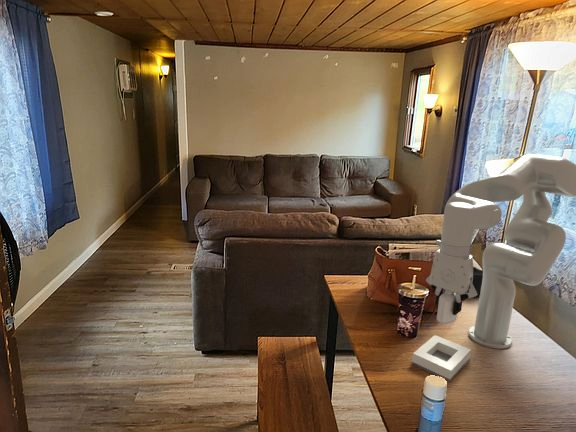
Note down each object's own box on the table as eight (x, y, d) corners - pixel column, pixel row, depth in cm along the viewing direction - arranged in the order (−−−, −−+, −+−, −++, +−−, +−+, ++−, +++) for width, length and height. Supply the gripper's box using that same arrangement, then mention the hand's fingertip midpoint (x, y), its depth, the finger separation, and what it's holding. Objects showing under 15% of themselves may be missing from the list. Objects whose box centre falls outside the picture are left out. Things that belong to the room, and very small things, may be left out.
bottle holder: (433, 345, 129) (434, 334, 128) (469, 360, 122) (471, 349, 121) (411, 364, 119) (413, 353, 118) (449, 381, 112) (451, 370, 111)
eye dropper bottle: (458, 324, 115) (464, 285, 111) (438, 324, 115) (442, 284, 112) (454, 316, 119) (459, 278, 116) (433, 316, 119) (438, 277, 116)
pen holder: (478, 289, 169) (481, 266, 167) (486, 299, 160) (490, 275, 158) (454, 287, 170) (457, 265, 168) (461, 298, 161) (465, 274, 159)
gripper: (419, 244, 114) (413, 304, 119) (482, 260, 103) (473, 326, 108) (431, 238, 119) (425, 296, 124) (493, 253, 108) (483, 316, 113)
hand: (447, 309), depth 116 cm, fingers closed on eye dropper bottle, 4 cm apart
